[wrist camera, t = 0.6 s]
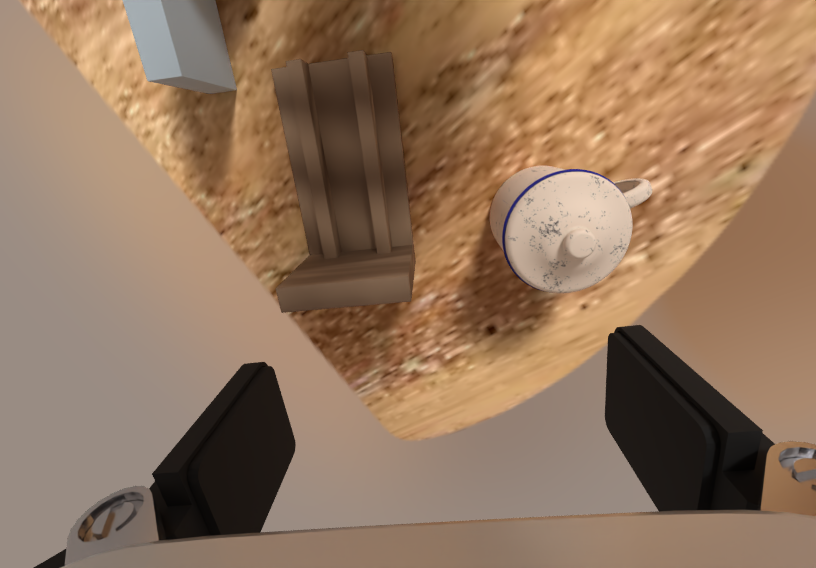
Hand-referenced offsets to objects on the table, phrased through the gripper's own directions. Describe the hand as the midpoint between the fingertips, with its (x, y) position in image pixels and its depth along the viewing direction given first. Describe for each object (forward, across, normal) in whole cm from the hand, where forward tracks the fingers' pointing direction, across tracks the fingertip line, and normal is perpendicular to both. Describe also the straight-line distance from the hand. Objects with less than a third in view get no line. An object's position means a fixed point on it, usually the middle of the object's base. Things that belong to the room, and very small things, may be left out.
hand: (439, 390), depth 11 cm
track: (+28, +7, -5) cm, 29 cm away
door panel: (+28, +17, -17) cm, 36 cm away
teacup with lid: (+28, -11, +1) cm, 30 cm away
